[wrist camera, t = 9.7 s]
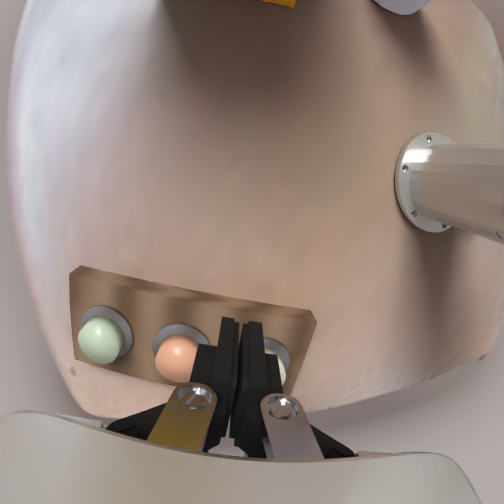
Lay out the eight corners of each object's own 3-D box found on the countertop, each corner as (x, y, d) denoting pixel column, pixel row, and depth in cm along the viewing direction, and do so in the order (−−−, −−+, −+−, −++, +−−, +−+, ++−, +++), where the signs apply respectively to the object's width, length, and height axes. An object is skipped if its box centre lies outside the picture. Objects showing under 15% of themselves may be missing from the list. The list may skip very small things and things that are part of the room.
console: (310, 310, 34) (318, 324, 31) (283, 386, 37) (288, 403, 34) (80, 265, 31) (66, 275, 27) (83, 347, 34) (73, 361, 30)
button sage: (124, 321, 29) (117, 332, 26) (123, 356, 30) (117, 368, 28) (85, 311, 28) (76, 321, 26) (87, 345, 29) (79, 356, 27)
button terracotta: (205, 338, 30) (203, 351, 28) (199, 372, 31) (197, 386, 29) (161, 330, 29) (156, 342, 27) (158, 364, 30) (154, 377, 28)
